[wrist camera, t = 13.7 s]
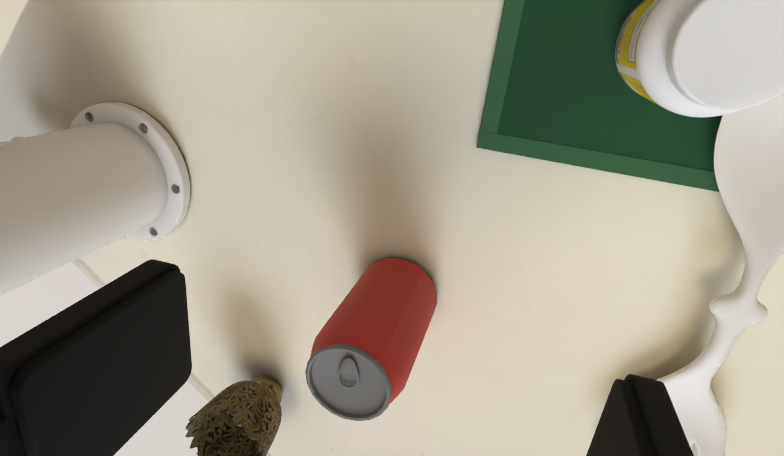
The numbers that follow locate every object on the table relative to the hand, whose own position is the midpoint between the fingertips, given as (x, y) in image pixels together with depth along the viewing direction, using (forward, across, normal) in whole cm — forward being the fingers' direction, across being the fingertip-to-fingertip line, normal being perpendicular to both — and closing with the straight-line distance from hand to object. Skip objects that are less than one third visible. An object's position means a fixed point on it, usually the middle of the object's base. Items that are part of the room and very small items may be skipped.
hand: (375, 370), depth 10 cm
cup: (+26, +16, +28) cm, 42 cm away
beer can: (+26, +4, +13) cm, 29 cm away
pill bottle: (+25, -10, -7) cm, 28 cm away
